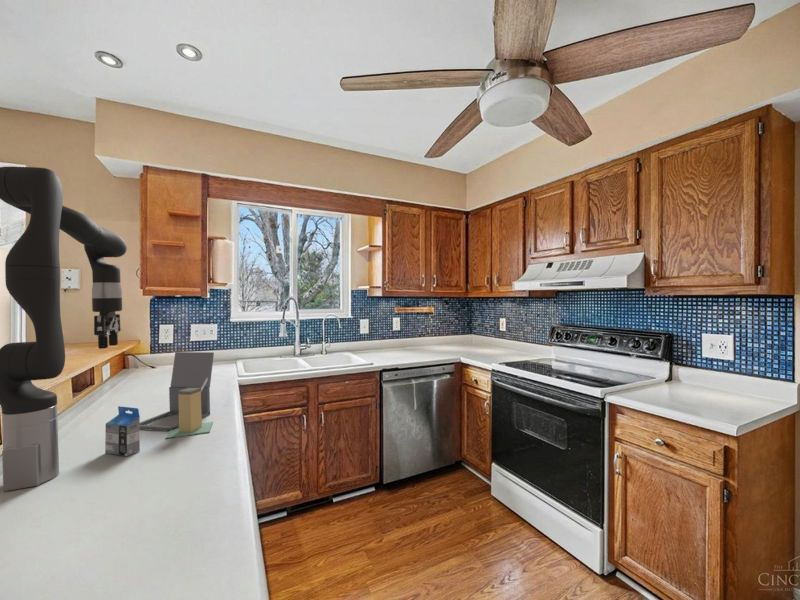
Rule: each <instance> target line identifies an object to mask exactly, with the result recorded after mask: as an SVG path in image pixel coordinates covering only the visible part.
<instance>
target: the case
mask: <svg viewBox="0 0 800 600" xmlns="http://www.w3.org/2000/svg"><path fill="white" fill-rule="evenodd" d="M214 355H215V352H212V351H211V352H205V351H203V352H201V351H199V352H197V351H193V352H192V351H191V352H190V351H189V352H187V351H186V352H185V351H176V352H175V354H174V360H173V366H172V372H171V373H172V374H171V380H170V386H169V387H168V392H169V394H168V395H169V396H168V397H169V411H167V412H164V413H160V414H159V415H156V416H152V417H151V418H148V419H145V420H143V421H141V422H140V430H144V429H154V430H153V431H162V430H174V429H176V428H179V423H178V424H176V425H174V426H169V425H167V426H166V425H150V422H151V423H153V422H155V420H156V421H158V420H161V419H162V417H163V418H165V416H166V417H168V416H170V414H171V415H179V401H178V391H180V390H183V389H186V388H201V415H202V419H203V418H205V417H208V416H210V415H211V399H210V398H211V396H210V388H211V380H212V372H213V365H214V363H213V362H214V358H215V357H214ZM160 418H161V419H160ZM157 419H158V420H157ZM152 421H153V422H152ZM147 423H148V424H147ZM144 424H146V425H144Z"/></svg>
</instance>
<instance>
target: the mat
mask: <svg viewBox="0 0 800 600" xmlns="http://www.w3.org/2000/svg"><path fill="white" fill-rule="evenodd" d="M213 423H214V421H207V422H202V427H201V428H199V429H197V430H195V431H193V432H181V431H179V428H176V429H174V430H170V431H168V433H167V435H166V437H165V439H166V438H169V439H172V438H171V437H176V438H179V437H178V436H183V437H187V436H186V435H190V436H194V435H195V434H197V435H201V434H202V435H203V434H209V433H211V430H212V427H213V425H214V424H213Z"/></svg>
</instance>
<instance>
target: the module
mask: <svg viewBox="0 0 800 600" xmlns="http://www.w3.org/2000/svg"><path fill="white" fill-rule="evenodd" d="M178 401H179V414H178V424H179V431H181V432H193V431H195V430H197V429H199V428H201V427H202V423H203V422H202V421H203V418H202V415H201V388H186V389H183V390H180V391H178Z"/></svg>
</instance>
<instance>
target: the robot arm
mask: <svg viewBox="0 0 800 600" xmlns="http://www.w3.org/2000/svg"><path fill="white" fill-rule="evenodd" d="M63 193H64V191H63V186H62V183H61V180H60V178H59V177H58V175H57V174H56V173H55V172H54V170H51V169H49V168H45V167H34V166H1V167H0V200H1V201H2V202H4V203H6V204H8V205H9V206H12V207H14V208H16V209H19V210H20V211H23V212H25V213H27V214H29V215H30V218H29V222H28V225H27V227H26V229H25V230H24V232H23V233H22V235H21V236H20V237H19V238H18V240H16V242H15V243H14V244H13V246H12V247H11V249H10V250H9V251H8V253H7V255H6V258H5V261H4V262H5V263H4V266H5V267H4V269H5V270H4V271H5V272H4V273H5V274H4V275H5V277H4V278H5V286H6V290H7V291H8V293H9V294H10V296H11V297H12V298H13V300H14V301H15V302H16V303H17V305H18V306H20V308H22V310H23V311H24V312H25V313H26V315H27V316H28V317H29V319H30V321H31V323H32V325H33V329H34V333H35V341H21V342H18V341H17V342H10V343H5V344H4V345H3V346H1V347H0V407H1V425H2V426H1V429H2V431H1V432H2V451H1V455H2V456H1V460H2V465H1V466H2V492H8V491H9V492H10V491H14V490H21V489H25V488H31V487H37V486H40V485H41V484H44V483H45V482H48V481H49V480H52V479H54V478H55V477H56V476H58V475H59V474H60V465H59V464H60V462H59V461H60V459H59V458H60V457H59V456H60V455H59V454H60V453H59V427H58V426H59V423H58V395H57V394H56V393H55V392H53V391H50V390H45V389H42V388H40V387H38V386H36V385H35V384H33V383H32V382H33V381H41V380H52V379H55V378H58V377H59V375H61V374H62V372H63V370H64V367H65V365H66V364H65V363H66V348H65V340H64V334H63V325H62V317H61V292H60V291H61V265H60V263H61V262H60V231H61V232H64V233H65V234H67V235H68V236H69V237H70V238H73V239H74V240H75V241H77V242H79V243H80V244H82V245H83V247H84V252H85V255H86V257H87V259H88V262H89V264H90V265H89V266H90V268H91V271H92V272H91V274H92V277H91V278H92V287H91V310H92V311H91V312H93V313H99V314H98V315H94V317H93V325H94V326H93V331H94V332H93V334H94V336H96V337H97V343H98V346H97V347H98V349H107V348H108V347H109V346H110V347H111V346H118V345H119V343H118V341H119V339H118V336H119V335H118V334H119V332H121V331H122V330H121V329H122V328H121V314H119V313H116V312H122V311H123V297H122V296H123V291H122V285H121V269H120V267H119V266H118V265H115V264H109V263H107V262H106V260H105V259H104V258H120V257H122V256H124V255H125V254H126V252H127V250H128V247H127V244H126V242H125V240H124V239H123V238H122V237H121V235H118V234H116V233H114V232H112V231H110V230H108V229H106V228H103V227H101V226H99V224H98V223H96V222H94V221H93V220H92V219H91V218H90V217H89V216H87V215H85V214H84V213H81V212H80V211H77V210H75V209H73V208H70V207H67V206H66V205H63V200H64V198H63V195H64V194H63Z"/></svg>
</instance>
